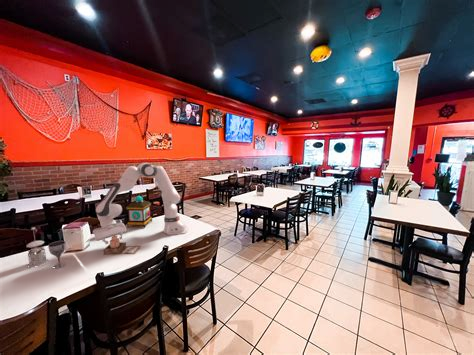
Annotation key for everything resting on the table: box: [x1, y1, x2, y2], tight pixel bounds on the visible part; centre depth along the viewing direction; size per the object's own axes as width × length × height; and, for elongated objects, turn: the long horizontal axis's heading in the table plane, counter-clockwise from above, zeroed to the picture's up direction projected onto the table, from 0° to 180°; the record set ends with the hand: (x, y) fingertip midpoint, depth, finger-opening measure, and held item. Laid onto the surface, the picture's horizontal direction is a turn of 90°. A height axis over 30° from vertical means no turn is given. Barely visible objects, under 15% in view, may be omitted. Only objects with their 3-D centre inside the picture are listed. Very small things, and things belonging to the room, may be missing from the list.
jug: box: [109, 235, 121, 249], centre depth 140 cm, size 8×6×10 cm
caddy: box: [102, 241, 142, 256], centre depth 142 cm, size 22×12×4 cm, turn 94°
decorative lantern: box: [126, 195, 153, 229], centre depth 189 cm, size 20×20×30 cm
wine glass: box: [47, 240, 67, 269], centre depth 123 cm, size 8×8×15 cm
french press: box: [26, 227, 49, 268], centre depth 124 cm, size 10×12×25 cm
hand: (114, 241), depth 141 cm, fingers open, 8 cm apart
